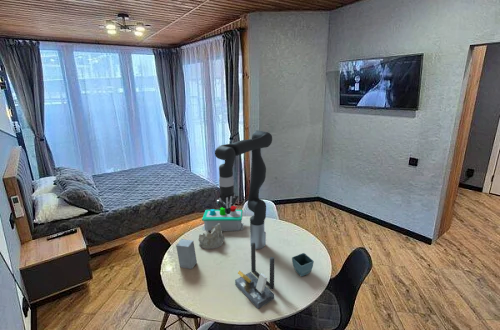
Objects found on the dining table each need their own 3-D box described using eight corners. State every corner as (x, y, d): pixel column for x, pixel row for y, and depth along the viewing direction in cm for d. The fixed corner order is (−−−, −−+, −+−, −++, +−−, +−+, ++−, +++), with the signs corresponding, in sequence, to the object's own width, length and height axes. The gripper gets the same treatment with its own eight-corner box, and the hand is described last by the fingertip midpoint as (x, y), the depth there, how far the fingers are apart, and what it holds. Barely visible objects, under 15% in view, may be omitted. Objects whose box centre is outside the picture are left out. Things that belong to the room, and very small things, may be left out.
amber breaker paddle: (247, 276, 141) (239, 270, 136) (252, 281, 138) (244, 274, 133) (245, 279, 140) (237, 273, 136) (250, 283, 137) (242, 277, 133)
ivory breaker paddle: (258, 287, 134) (262, 273, 133) (263, 292, 131) (267, 277, 130) (255, 288, 133) (259, 273, 132) (260, 293, 130) (265, 278, 129)
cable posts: (254, 269, 153) (253, 242, 148) (275, 288, 139) (275, 258, 133) (250, 270, 152) (250, 243, 146) (271, 290, 138) (271, 260, 132)
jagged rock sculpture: (226, 236, 186) (224, 217, 182) (219, 250, 171) (216, 230, 166) (205, 235, 190) (202, 216, 185) (196, 249, 175) (193, 229, 170)
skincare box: (197, 262, 159) (195, 239, 155) (191, 270, 153) (188, 246, 148) (184, 260, 162) (182, 237, 157) (178, 267, 155) (175, 244, 151)
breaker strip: (250, 276, 147) (250, 268, 146) (274, 299, 132) (274, 290, 130) (235, 284, 142) (235, 276, 140) (258, 308, 126) (258, 300, 125)
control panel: (204, 202, 201) (243, 202, 201) (205, 221, 206) (244, 221, 205) (199, 211, 187) (242, 211, 186) (201, 232, 192) (243, 232, 191)
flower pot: (300, 280, 144) (301, 266, 141) (291, 270, 151) (291, 257, 149) (313, 274, 148) (314, 261, 145) (303, 265, 155) (304, 252, 153)
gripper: (233, 179, 146) (234, 207, 151) (211, 184, 138) (213, 214, 143) (241, 182, 140) (241, 212, 145) (219, 188, 132) (220, 220, 138)
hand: (227, 213), depth 144 cm, fingers closed
